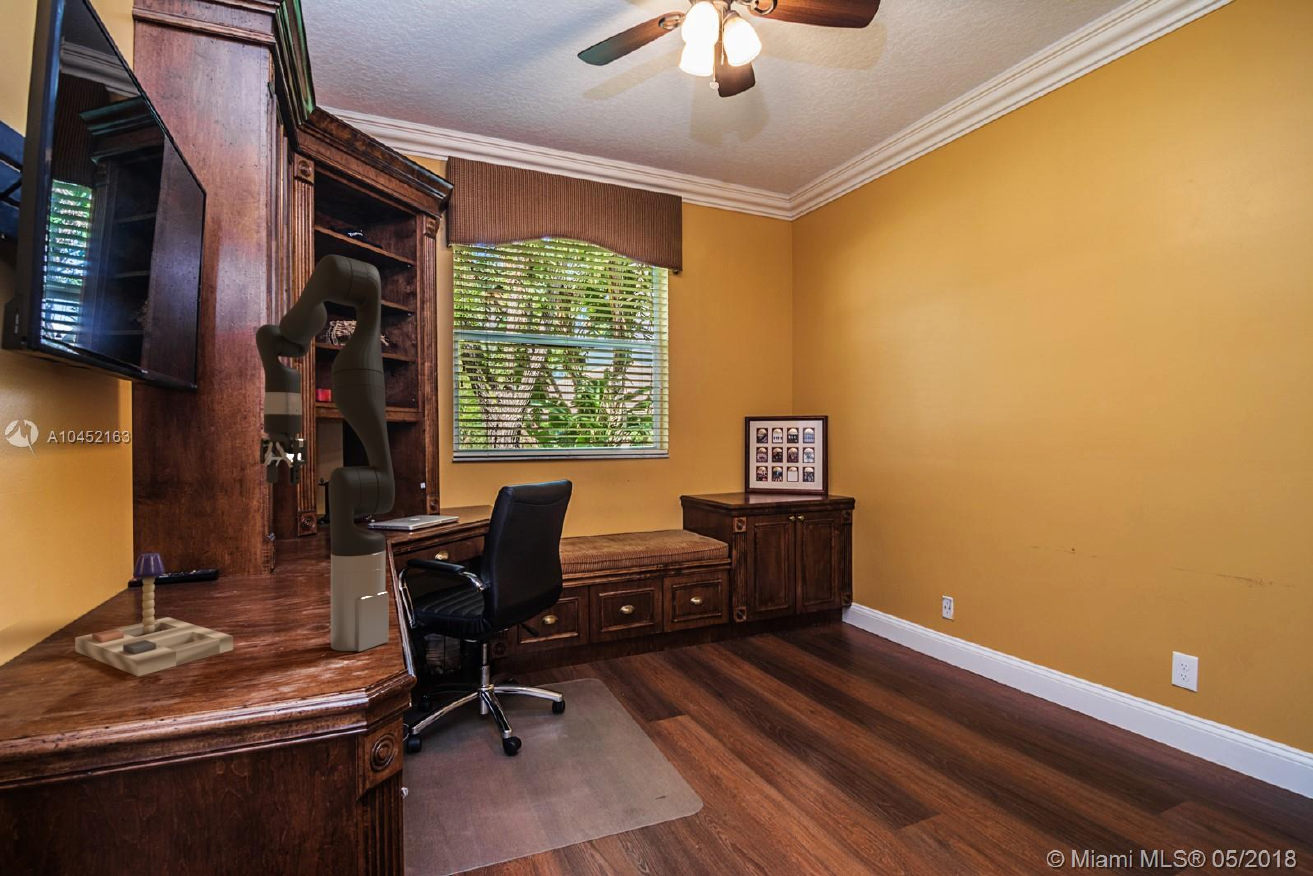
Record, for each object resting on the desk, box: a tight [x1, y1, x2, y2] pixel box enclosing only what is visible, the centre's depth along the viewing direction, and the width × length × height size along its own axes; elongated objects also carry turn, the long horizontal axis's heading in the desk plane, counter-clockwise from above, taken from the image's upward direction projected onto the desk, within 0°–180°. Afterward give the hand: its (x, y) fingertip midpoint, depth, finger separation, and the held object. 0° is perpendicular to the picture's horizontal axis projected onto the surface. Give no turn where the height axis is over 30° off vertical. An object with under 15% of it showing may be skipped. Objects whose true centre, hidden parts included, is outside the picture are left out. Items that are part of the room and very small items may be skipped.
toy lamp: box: [132, 552, 166, 637], centre depth 113 cm, size 5×5×17 cm
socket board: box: [74, 616, 234, 677], centre depth 108 cm, size 24×14×4 cm, turn 62°
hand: (283, 483), depth 137 cm, fingers open, 8 cm apart
